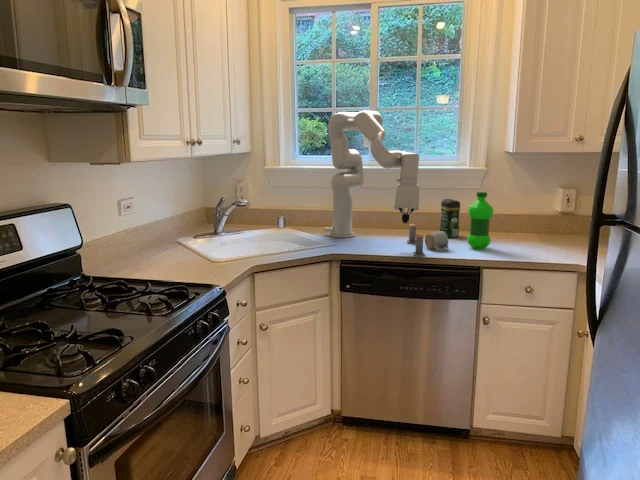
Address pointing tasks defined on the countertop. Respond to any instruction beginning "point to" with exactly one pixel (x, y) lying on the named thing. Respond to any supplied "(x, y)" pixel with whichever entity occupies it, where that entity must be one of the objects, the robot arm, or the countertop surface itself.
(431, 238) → the ceramic mug
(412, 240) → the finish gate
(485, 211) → the plastic bottle
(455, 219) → the coffee jar
